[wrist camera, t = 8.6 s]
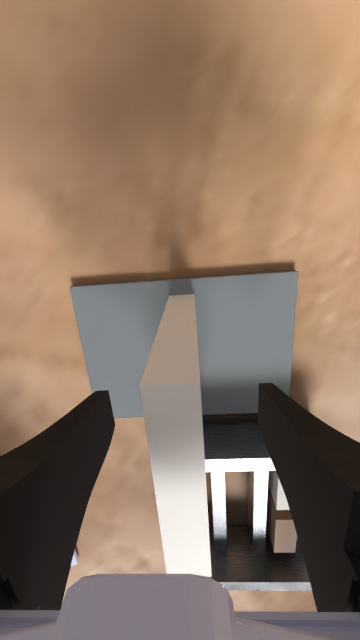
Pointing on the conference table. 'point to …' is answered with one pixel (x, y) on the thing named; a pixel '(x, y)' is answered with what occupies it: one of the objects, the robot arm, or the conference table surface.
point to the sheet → (178, 438)
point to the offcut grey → (277, 491)
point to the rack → (253, 539)
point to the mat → (212, 332)
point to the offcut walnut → (280, 527)
